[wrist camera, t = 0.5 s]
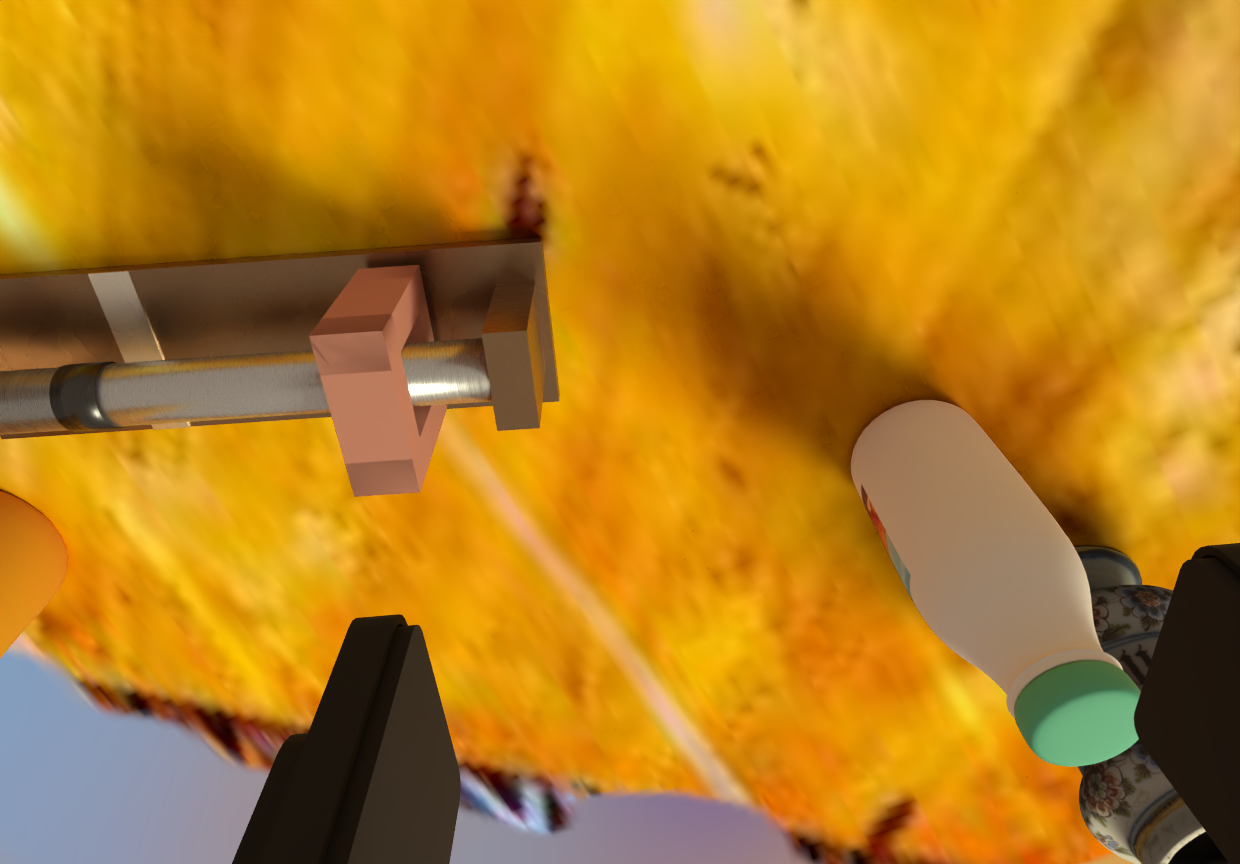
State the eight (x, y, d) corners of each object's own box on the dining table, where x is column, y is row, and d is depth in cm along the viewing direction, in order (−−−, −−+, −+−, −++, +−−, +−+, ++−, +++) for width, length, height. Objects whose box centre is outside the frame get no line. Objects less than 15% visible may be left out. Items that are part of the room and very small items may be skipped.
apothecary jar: (953, 662, 57) (1087, 926, 41) (1007, 527, 51) (1187, 778, 35) (1115, 666, 58) (1307, 927, 42) (1188, 534, 51) (1443, 783, 36)
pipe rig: (-70, 279, 40) (-188, 337, 34) (541, 237, 40) (532, 287, 34) (10, 431, 45) (-80, 506, 39) (559, 394, 45) (554, 463, 39)
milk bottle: (838, 415, 46) (983, 689, 29) (973, 379, 45) (1206, 640, 28) (857, 517, 50) (995, 812, 33) (981, 486, 49) (1191, 773, 32)
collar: (358, 269, 39) (308, 336, 32) (419, 264, 39) (382, 331, 32) (392, 410, 43) (354, 496, 37) (447, 406, 43) (419, 492, 36)
